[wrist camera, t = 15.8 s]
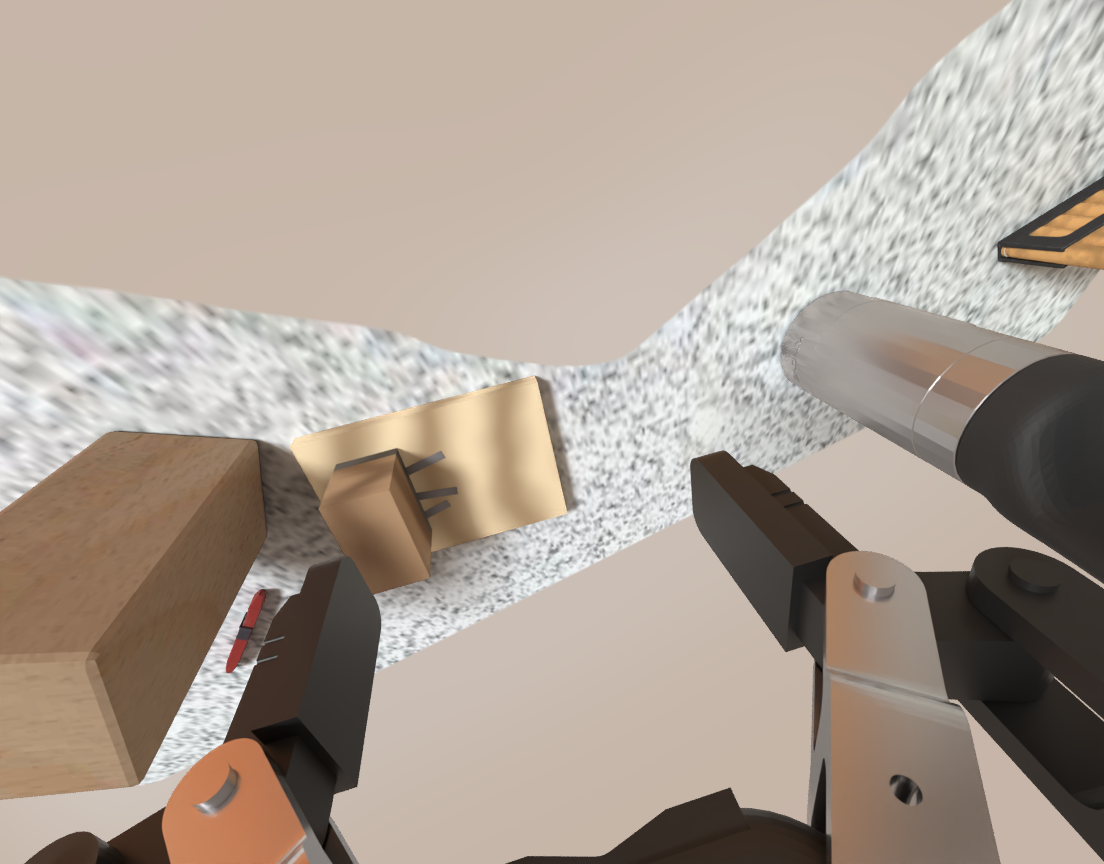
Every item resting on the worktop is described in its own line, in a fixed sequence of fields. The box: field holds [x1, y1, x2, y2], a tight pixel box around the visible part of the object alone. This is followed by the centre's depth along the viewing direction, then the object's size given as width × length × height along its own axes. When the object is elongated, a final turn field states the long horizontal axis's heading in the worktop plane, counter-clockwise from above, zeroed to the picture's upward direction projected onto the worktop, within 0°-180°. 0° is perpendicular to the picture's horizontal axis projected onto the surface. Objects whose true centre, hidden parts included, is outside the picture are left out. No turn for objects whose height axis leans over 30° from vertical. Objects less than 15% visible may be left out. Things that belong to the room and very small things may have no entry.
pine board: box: [290, 376, 567, 552], centre depth 41 cm, size 20×14×2 cm
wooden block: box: [0, 431, 267, 800], centre depth 29 cm, size 10×10×20 cm
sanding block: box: [318, 448, 432, 594], centre depth 38 cm, size 5×9×6 cm, turn 11°
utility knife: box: [226, 590, 266, 673], centre depth 45 cm, size 12×1×2 cm, turn 150°
